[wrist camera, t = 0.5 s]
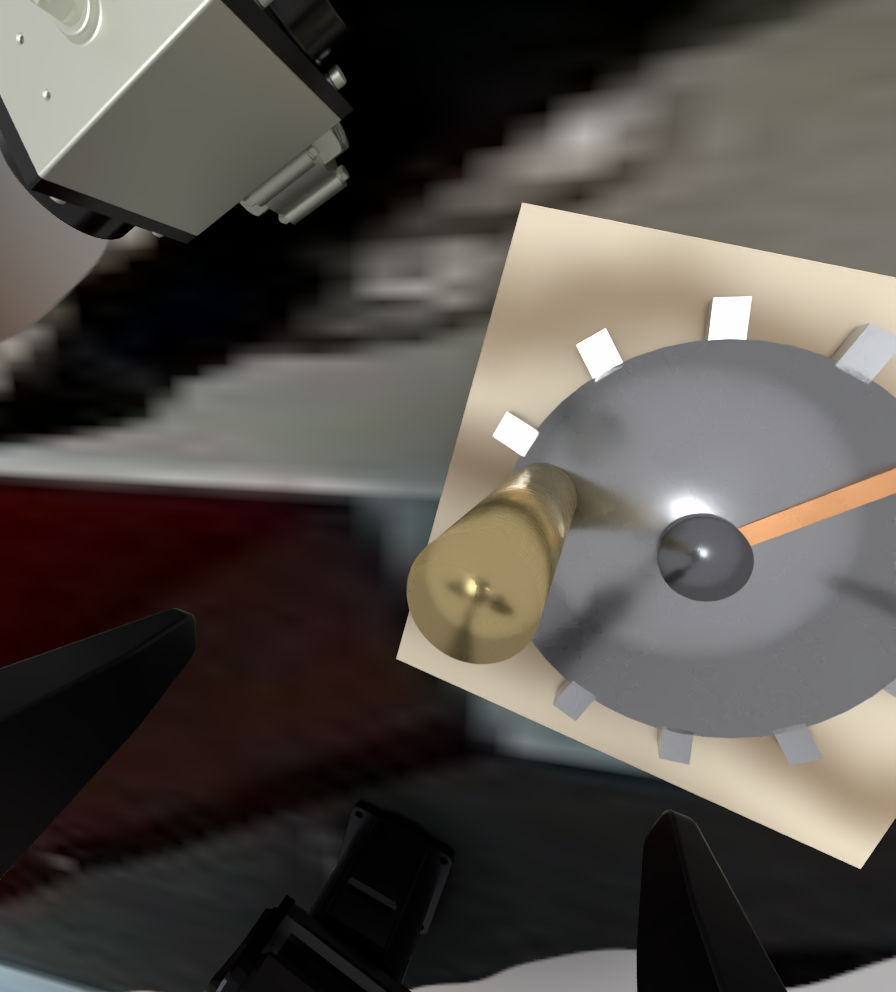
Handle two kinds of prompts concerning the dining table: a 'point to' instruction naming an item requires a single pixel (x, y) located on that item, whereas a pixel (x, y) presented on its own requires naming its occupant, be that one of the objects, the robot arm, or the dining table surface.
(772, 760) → the sprocket base
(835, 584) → the sprocket
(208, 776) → the dining table surface
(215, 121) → the pneumatic valve
